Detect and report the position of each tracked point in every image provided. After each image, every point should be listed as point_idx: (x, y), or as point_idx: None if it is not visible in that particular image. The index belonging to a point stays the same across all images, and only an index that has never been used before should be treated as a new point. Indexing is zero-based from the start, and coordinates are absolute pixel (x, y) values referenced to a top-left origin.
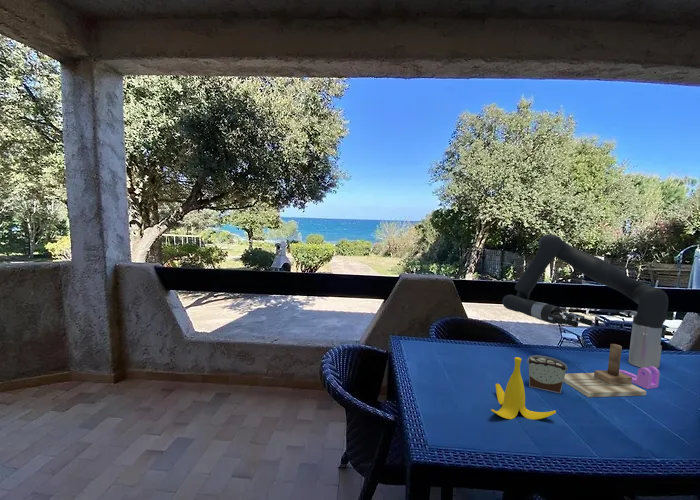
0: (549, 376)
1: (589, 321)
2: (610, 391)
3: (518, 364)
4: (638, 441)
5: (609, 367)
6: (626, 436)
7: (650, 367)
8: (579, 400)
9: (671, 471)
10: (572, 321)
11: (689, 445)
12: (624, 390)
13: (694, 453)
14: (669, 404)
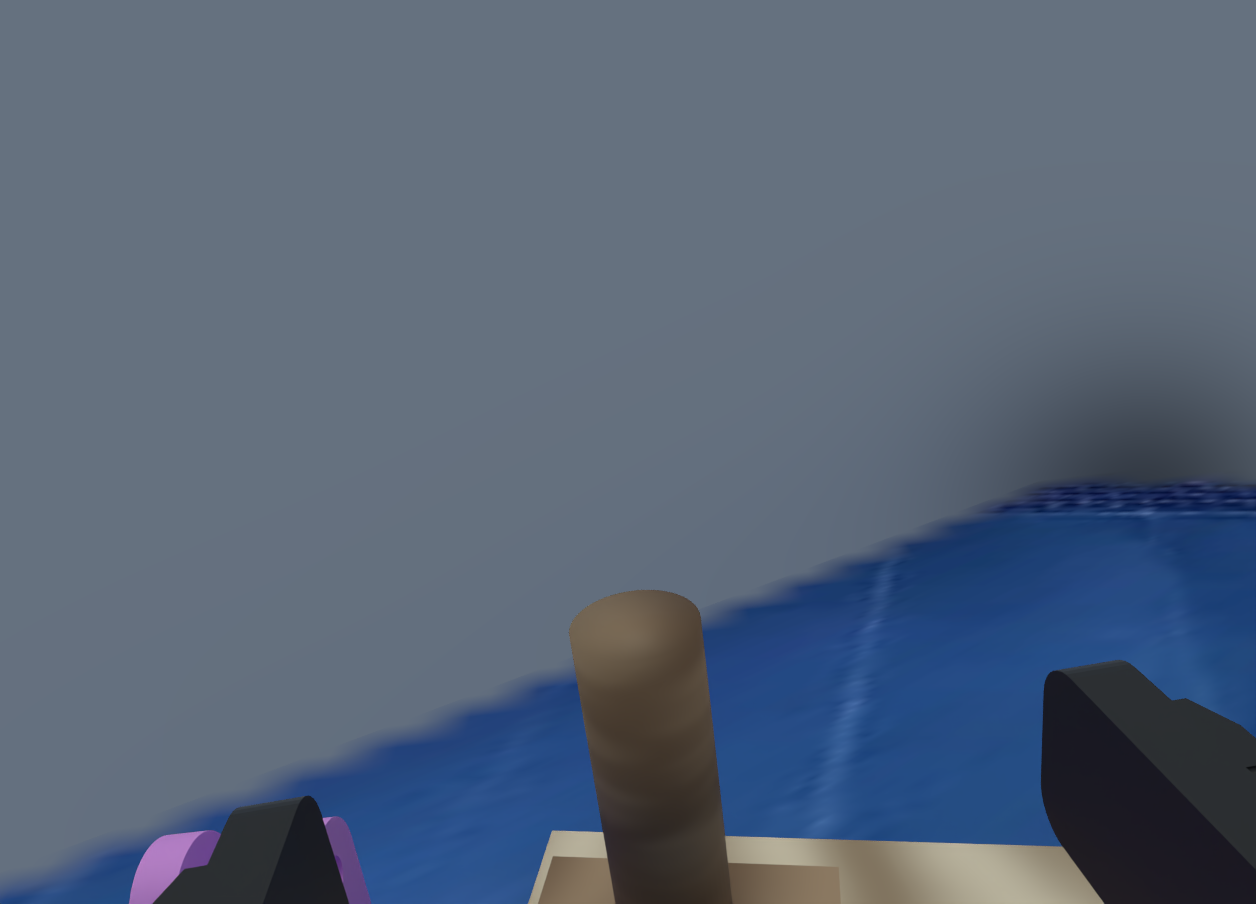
0: None
1: (305, 880)
2: (923, 851)
3: None
4: (1145, 565)
5: (727, 886)
6: (1186, 584)
7: (187, 863)
8: None
9: (1138, 486)
10: (1224, 779)
11: (901, 551)
12: (753, 855)
13: (935, 528)
14: (543, 759)
